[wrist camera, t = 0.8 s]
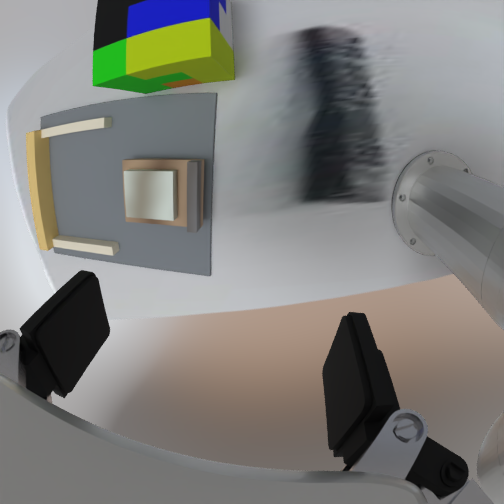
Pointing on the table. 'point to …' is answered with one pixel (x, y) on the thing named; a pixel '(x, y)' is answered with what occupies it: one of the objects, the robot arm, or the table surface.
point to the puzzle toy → (162, 44)
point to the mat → (119, 179)
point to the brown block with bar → (164, 191)
